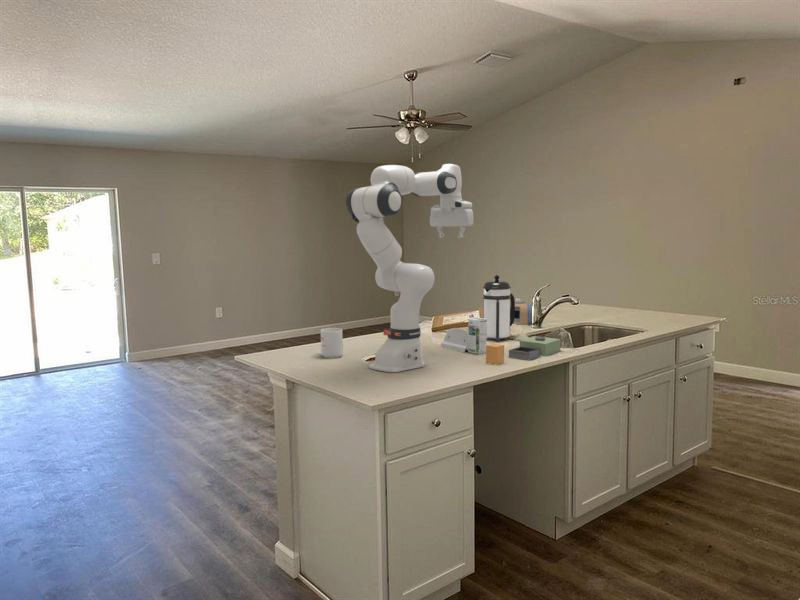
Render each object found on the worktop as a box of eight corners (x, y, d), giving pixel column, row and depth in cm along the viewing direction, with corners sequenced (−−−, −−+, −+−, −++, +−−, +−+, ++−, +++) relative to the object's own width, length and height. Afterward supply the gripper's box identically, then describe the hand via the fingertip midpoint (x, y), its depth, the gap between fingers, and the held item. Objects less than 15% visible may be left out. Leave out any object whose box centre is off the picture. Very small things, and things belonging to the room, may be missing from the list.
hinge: (439, 346, 267) (445, 324, 268) (447, 348, 270) (453, 327, 271) (464, 352, 253) (470, 329, 254) (472, 355, 256) (478, 332, 257)
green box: (545, 356, 245) (546, 341, 244) (519, 352, 253) (519, 338, 252) (560, 350, 255) (560, 336, 254) (534, 347, 262) (534, 333, 262)
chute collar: (529, 360, 237) (529, 353, 237) (508, 357, 243) (508, 350, 243) (540, 356, 244) (540, 349, 244) (520, 353, 250) (520, 346, 250)
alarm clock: (494, 323, 327) (494, 301, 325) (512, 319, 342) (513, 297, 340) (526, 327, 314) (526, 304, 313) (543, 322, 330) (544, 300, 328)
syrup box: (467, 352, 254) (467, 318, 252) (477, 350, 258) (477, 316, 256) (477, 354, 250) (477, 319, 248) (487, 352, 253) (487, 318, 252)
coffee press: (515, 342, 273) (516, 276, 270) (479, 342, 276) (480, 276, 272) (514, 335, 290) (515, 273, 286) (480, 335, 293) (481, 273, 289)
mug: (347, 356, 249) (346, 329, 248) (328, 359, 244) (327, 332, 242) (331, 351, 258) (331, 326, 257) (313, 354, 253) (312, 328, 252)
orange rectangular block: (497, 365, 231) (497, 347, 230) (486, 363, 234) (486, 345, 233) (504, 362, 235) (504, 344, 234) (493, 360, 238) (493, 343, 237)
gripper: (426, 204, 255) (426, 237, 257) (466, 203, 242) (466, 237, 244) (435, 205, 260) (435, 237, 261) (475, 203, 247) (475, 237, 248)
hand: (451, 237), depth 252 cm, fingers open, 8 cm apart
